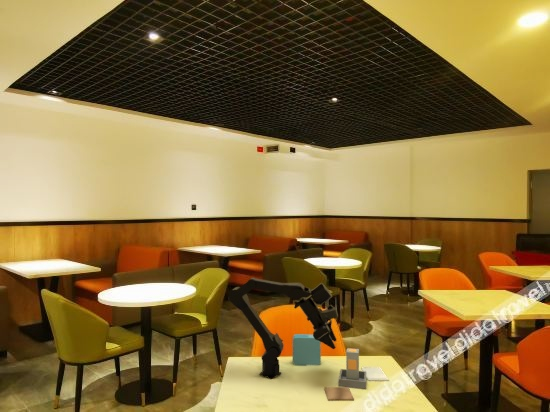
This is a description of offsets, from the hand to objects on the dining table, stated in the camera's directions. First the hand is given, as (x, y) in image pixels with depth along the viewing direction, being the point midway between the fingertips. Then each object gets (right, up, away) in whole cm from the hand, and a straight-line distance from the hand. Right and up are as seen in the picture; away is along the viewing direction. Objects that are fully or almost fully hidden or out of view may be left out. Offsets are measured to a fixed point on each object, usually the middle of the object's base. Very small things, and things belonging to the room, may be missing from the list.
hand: (335, 344), depth 153 cm
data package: (-10, -14, +16) cm, 24 cm away
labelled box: (+6, -13, -3) cm, 15 cm away
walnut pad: (-1, -13, -14) cm, 19 cm away
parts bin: (+6, -14, -3) cm, 15 cm away
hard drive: (+17, -15, +4) cm, 22 cm away
